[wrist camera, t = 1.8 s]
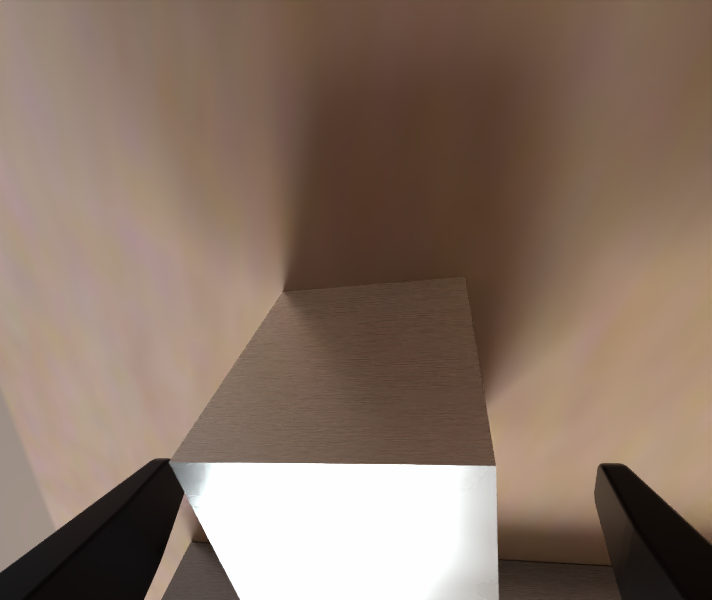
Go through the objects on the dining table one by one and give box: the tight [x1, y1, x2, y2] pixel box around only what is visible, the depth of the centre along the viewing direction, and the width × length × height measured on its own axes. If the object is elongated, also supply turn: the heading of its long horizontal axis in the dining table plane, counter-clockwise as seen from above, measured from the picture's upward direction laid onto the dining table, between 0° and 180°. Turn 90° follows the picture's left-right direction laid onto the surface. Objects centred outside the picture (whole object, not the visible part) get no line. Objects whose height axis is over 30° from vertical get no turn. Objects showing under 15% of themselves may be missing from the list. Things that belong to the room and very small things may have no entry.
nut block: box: [169, 277, 499, 600], centre depth 10 cm, size 5×5×6 cm
